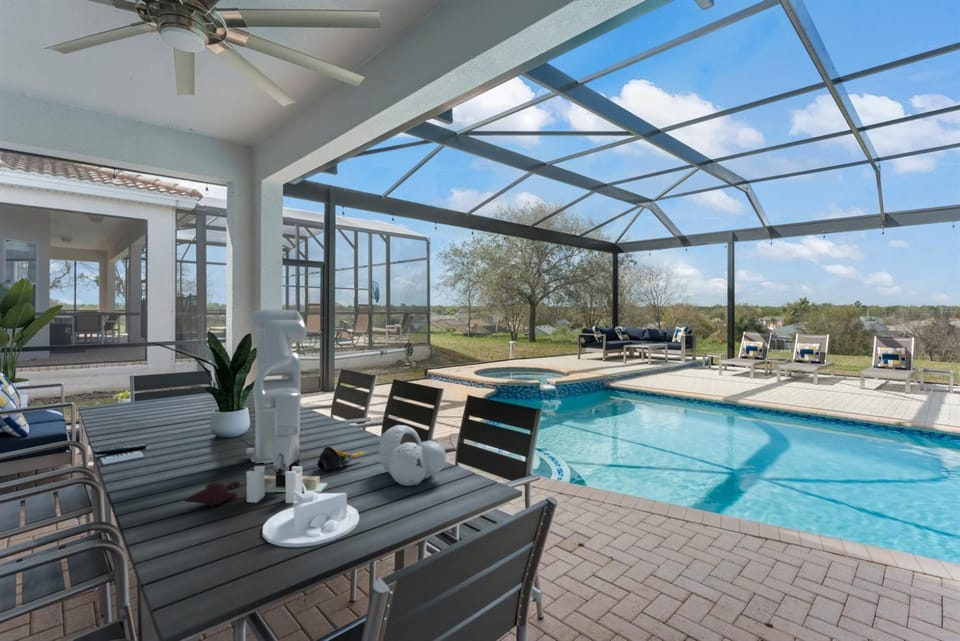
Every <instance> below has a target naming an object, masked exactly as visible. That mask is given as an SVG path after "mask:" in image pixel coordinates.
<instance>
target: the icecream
mask: <svg viewBox="0 0 960 641" xmlns="http://www.w3.org/2000/svg"><path fill="white" fill-rule="evenodd" d="M240 485H241V482H239V481H238V480H236V481H232V482H230V483H228V484H226V485H225V484H223V483H220V482H216V483H215V482H214V483H212V482H211V483H209V484H208V485H206V487H205V488H204V489H202V490H200V491H198V492H196V493H194V494H193V495H191V496H188V497H186V498H184V502H187V503H197V504H205V505H207V506H208V507H211V508H213V507H214V506H216V505H220V504H222V503H223V502H224V501H226V500H230V499H231V500H234V498H235V499H236V498H238V493H237V492H233V491H234V490H235V489H238V488H239V487H240ZM230 491H232V492H230Z"/></svg>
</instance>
